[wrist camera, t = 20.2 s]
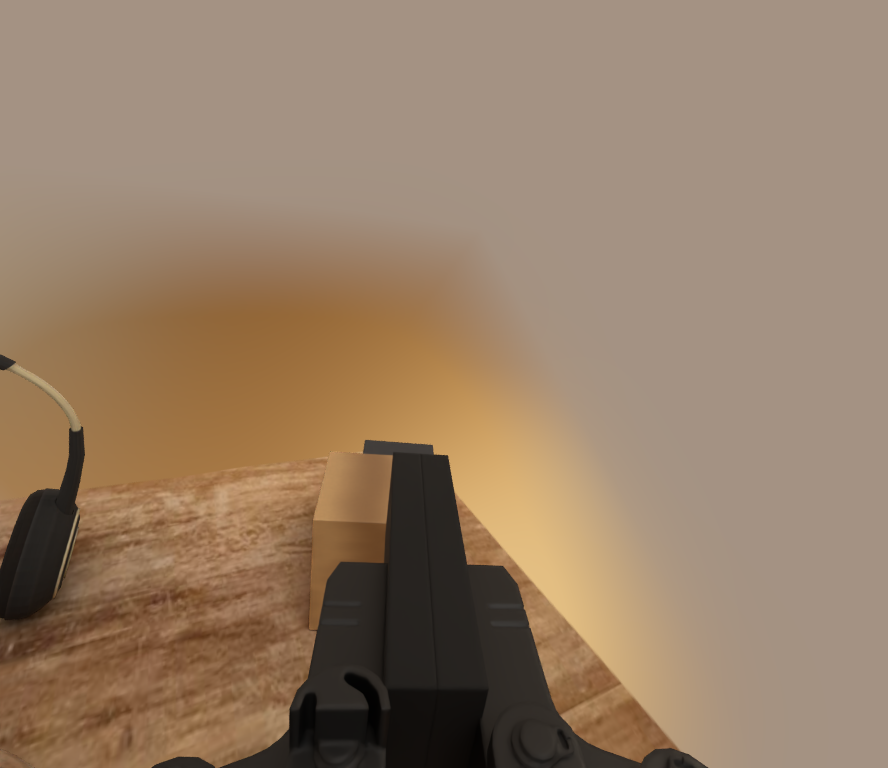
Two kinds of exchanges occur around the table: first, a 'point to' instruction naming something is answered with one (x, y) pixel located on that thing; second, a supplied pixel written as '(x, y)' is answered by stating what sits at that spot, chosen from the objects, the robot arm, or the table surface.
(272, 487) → the table surface
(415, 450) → the block
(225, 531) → the table surface
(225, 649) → the table surface
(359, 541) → the push block
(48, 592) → the headphones
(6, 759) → the bowl
